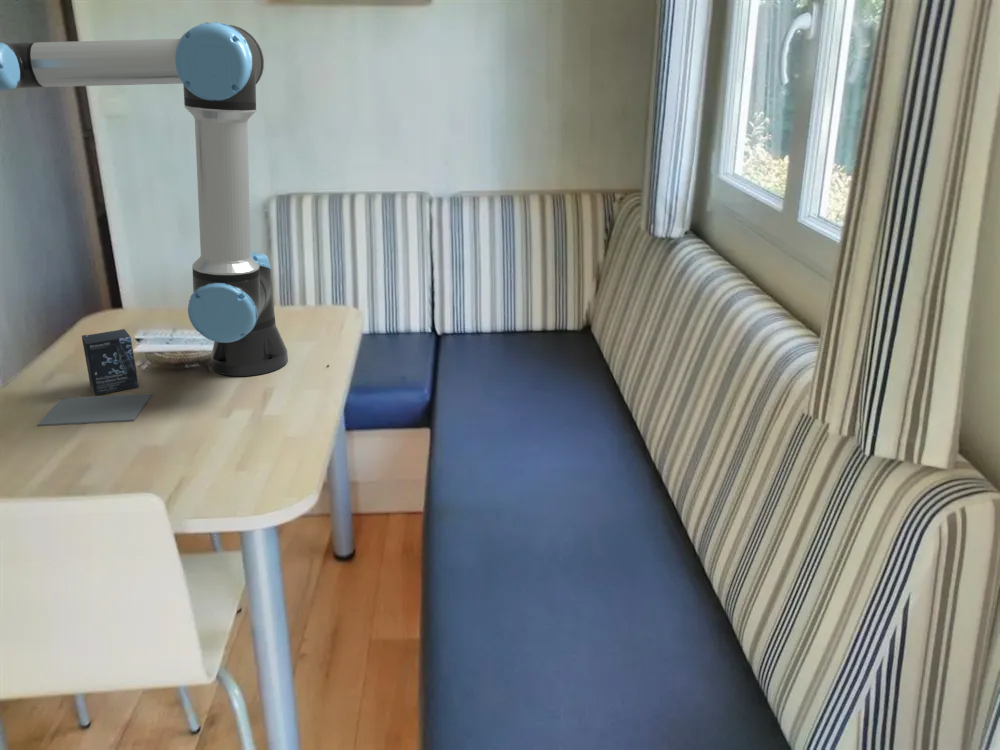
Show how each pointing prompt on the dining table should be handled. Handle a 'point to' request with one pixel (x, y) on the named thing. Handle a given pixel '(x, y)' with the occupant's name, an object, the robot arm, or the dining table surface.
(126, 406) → the mat
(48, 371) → the dining table surface
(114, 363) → the box
